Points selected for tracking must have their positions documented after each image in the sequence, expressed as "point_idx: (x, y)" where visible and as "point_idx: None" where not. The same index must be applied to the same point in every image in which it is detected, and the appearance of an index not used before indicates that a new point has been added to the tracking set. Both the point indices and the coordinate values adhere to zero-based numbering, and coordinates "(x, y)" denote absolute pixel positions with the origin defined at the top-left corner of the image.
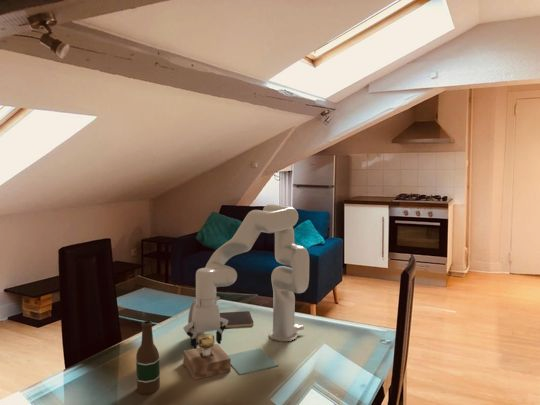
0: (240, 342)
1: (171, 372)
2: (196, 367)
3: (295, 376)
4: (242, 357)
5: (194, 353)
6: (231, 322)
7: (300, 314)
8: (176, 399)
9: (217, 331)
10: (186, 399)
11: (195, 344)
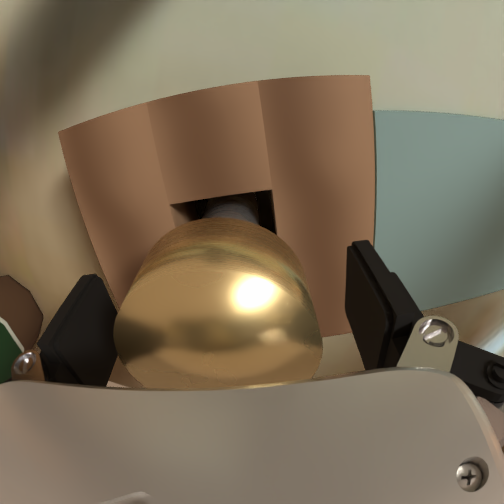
0: (486, 2)
1: (53, 211)
2: None
3: (487, 347)
4: (453, 178)
5: (135, 199)
6: None
7: None
8: (111, 378)
9: (394, 352)
10: (140, 387)
11: (109, 363)
